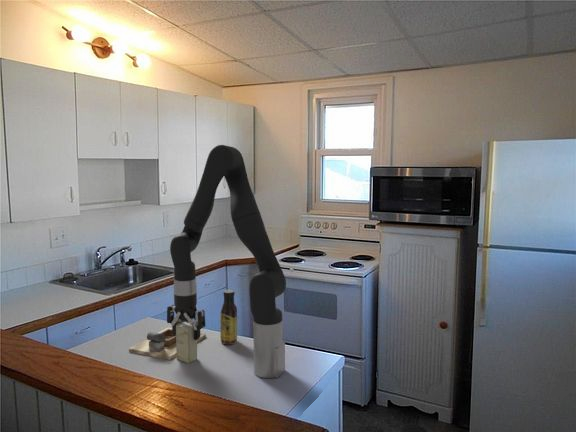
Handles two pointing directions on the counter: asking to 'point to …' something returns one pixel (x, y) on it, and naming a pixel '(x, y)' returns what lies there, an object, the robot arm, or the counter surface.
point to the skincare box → (185, 342)
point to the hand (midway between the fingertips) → (186, 337)
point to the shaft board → (155, 354)
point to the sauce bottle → (228, 319)
